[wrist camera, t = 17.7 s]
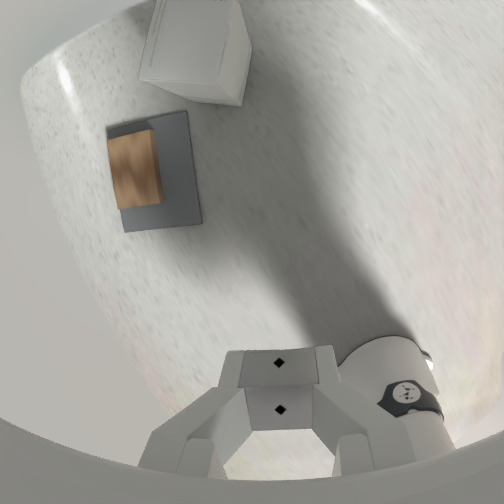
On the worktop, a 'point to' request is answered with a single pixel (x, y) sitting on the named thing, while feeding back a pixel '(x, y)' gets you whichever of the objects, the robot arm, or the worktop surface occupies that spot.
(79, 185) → the worktop surface
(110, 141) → the walnut slab
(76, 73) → the worktop surface
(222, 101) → the skincare box
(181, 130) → the slate mat
